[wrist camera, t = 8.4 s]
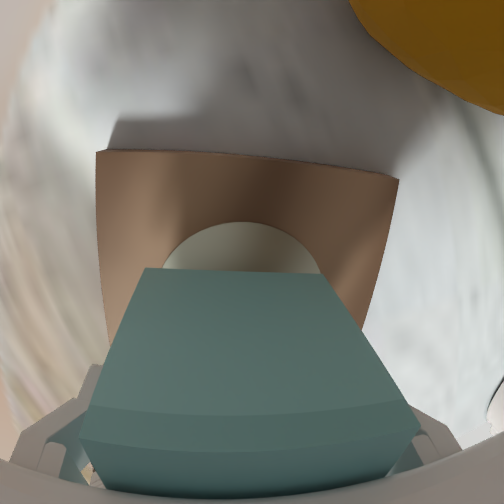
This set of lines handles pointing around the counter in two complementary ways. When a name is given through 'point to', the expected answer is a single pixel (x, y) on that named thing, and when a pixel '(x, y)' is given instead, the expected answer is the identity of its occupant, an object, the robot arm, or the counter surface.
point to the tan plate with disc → (238, 220)
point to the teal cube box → (241, 391)
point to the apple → (444, 43)
